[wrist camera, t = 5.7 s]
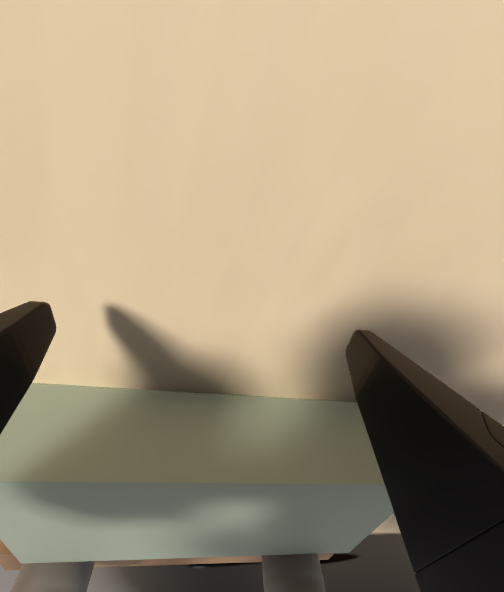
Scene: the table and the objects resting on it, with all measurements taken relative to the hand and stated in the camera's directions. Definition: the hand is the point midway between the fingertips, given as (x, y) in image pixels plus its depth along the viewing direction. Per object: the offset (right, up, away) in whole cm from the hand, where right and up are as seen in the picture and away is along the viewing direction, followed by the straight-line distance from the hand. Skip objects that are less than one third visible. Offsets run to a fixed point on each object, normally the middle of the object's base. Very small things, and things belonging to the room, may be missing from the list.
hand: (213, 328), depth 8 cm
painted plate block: (-1, -7, +7) cm, 9 cm away
